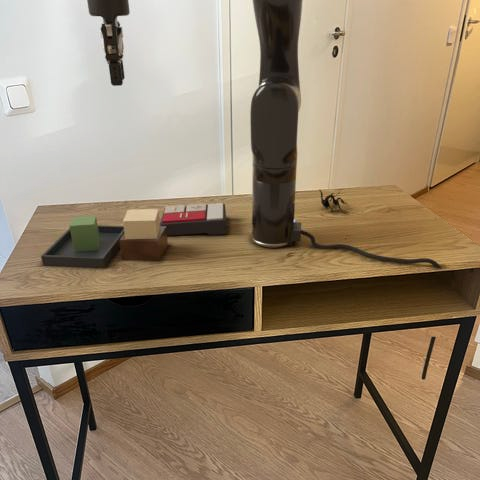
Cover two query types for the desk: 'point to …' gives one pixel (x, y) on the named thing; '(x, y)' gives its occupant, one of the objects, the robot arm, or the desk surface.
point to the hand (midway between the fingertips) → (118, 82)
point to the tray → (66, 256)
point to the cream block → (142, 224)
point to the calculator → (195, 219)
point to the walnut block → (144, 247)
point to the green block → (85, 233)
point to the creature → (326, 201)
